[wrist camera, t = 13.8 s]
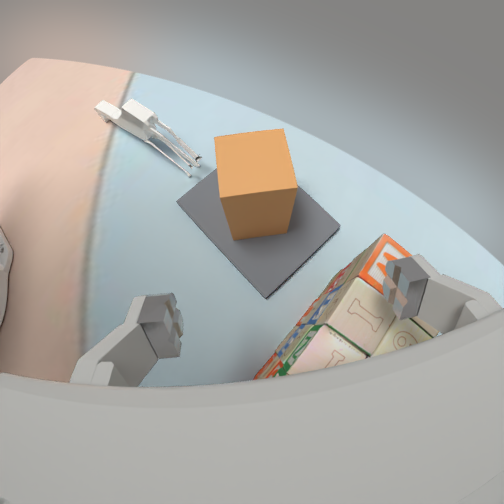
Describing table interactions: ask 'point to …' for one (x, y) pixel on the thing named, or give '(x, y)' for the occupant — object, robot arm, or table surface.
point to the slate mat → (260, 248)
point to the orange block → (256, 182)
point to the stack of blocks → (349, 319)
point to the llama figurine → (144, 126)
